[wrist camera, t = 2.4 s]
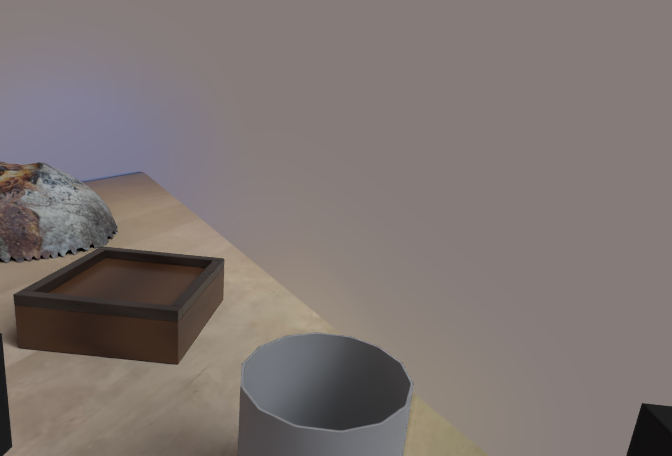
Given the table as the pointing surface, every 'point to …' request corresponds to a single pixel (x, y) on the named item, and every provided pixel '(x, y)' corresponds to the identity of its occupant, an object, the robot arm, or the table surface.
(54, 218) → the bread
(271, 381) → the cup
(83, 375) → the table surface
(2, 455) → the robot arm
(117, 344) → the brown wooden tray
